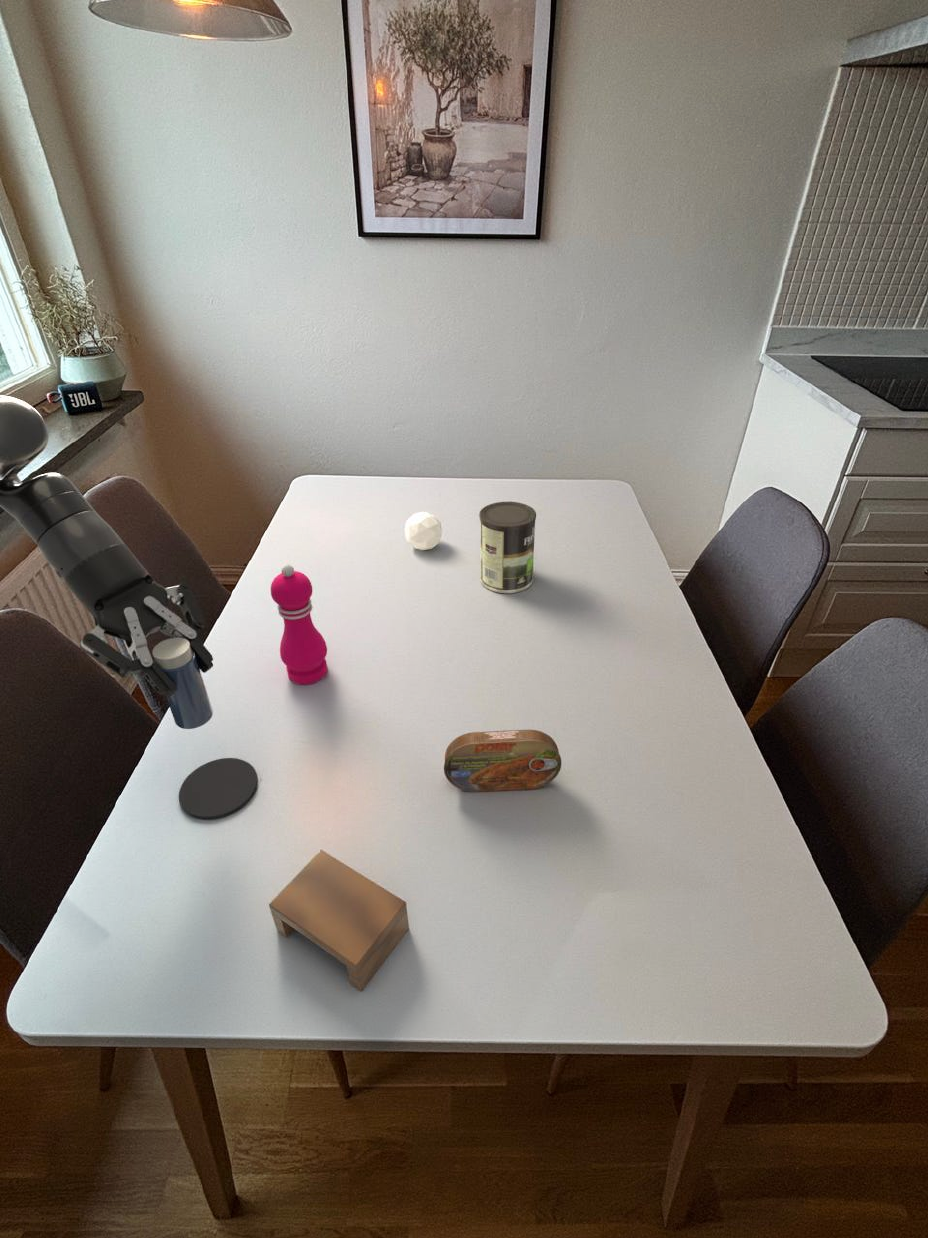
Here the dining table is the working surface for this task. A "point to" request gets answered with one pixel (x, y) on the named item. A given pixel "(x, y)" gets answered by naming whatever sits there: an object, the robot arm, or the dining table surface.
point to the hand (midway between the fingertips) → (191, 680)
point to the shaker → (184, 683)
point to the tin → (502, 760)
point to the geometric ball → (423, 531)
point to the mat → (218, 788)
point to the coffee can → (507, 546)
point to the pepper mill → (298, 628)
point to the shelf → (342, 915)
